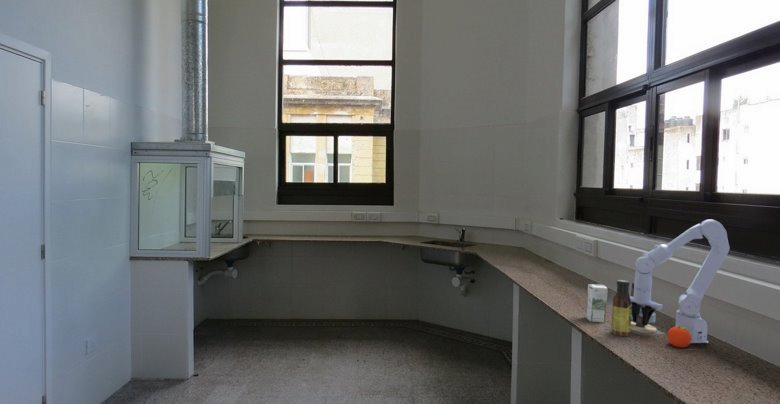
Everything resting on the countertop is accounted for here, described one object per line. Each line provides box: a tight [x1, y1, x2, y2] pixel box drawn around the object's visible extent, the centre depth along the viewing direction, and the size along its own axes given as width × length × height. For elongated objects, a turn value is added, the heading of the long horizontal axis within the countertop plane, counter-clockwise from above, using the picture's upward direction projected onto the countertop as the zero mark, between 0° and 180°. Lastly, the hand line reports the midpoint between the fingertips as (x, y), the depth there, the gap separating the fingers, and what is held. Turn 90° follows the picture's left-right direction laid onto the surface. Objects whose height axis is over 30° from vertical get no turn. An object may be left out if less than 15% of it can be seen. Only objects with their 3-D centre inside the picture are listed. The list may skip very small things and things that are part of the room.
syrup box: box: [585, 283, 609, 323], centre depth 178 cm, size 6×6×14 cm
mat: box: [630, 329, 666, 336], centre depth 169 cm, size 12×12×1 cm
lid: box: [631, 315, 657, 335], centre depth 169 cm, size 11×11×5 cm
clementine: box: [666, 326, 695, 348], centre depth 151 cm, size 8×7×7 cm
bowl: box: [631, 309, 657, 324], centre depth 181 cm, size 9×9×4 cm
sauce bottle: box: [611, 279, 632, 338], centre depth 162 cm, size 6×6×20 cm
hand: (640, 323), depth 169 cm, fingers closed on lid, 3 cm apart
